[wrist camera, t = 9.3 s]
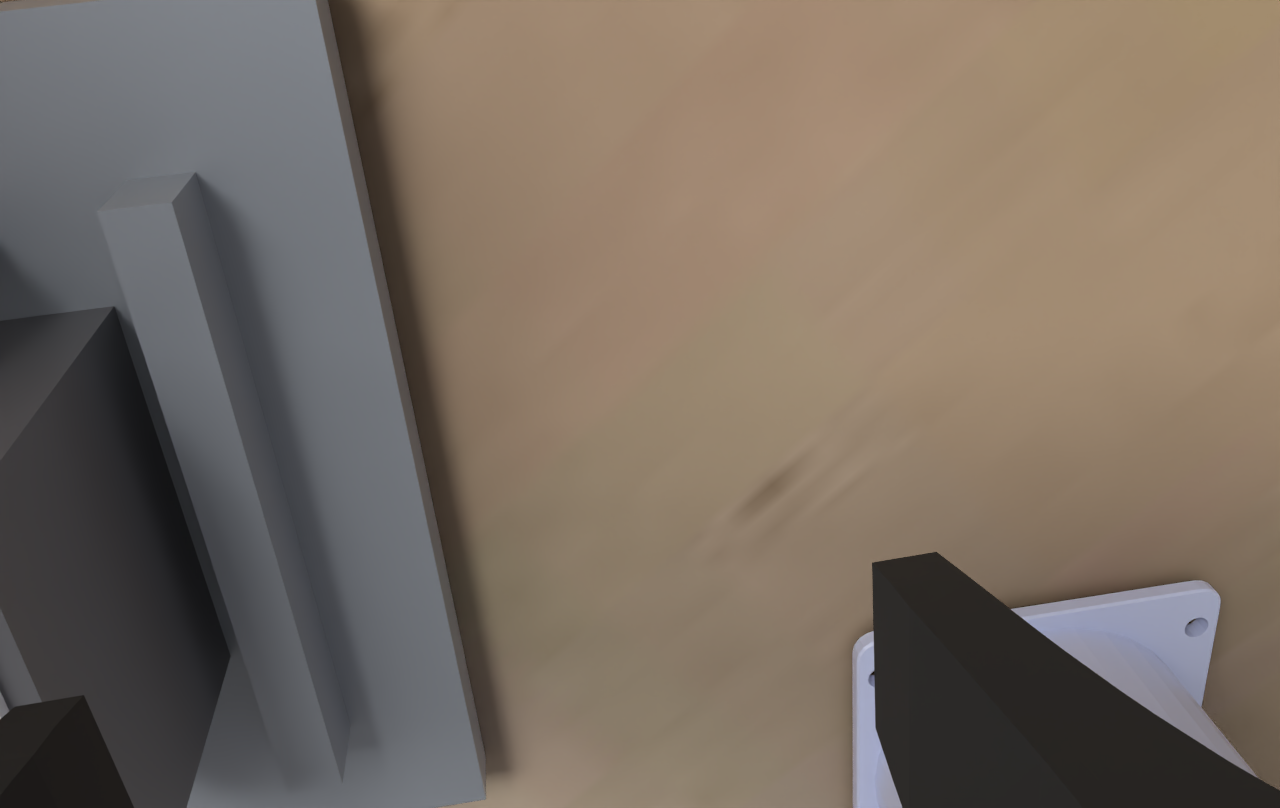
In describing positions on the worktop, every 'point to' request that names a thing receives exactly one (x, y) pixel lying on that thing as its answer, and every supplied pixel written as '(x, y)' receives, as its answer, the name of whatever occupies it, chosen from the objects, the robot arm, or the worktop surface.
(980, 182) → the worktop surface
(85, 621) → the block
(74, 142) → the drive tray
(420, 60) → the worktop surface
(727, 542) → the worktop surface
